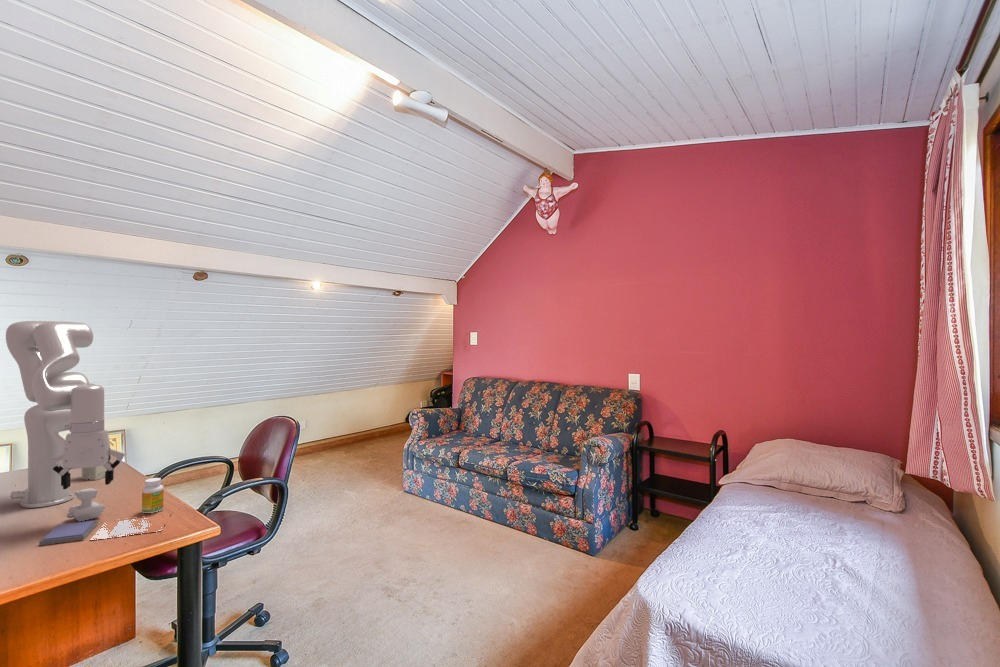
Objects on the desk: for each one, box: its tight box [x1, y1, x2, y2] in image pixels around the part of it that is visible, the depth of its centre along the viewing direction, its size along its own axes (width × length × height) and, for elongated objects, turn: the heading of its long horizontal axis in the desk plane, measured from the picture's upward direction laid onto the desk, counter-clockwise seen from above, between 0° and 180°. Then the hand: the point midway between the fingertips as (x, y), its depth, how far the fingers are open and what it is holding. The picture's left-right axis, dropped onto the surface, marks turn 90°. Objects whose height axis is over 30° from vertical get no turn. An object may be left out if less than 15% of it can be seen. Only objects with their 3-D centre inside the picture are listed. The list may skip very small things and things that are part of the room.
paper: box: [89, 518, 162, 541], centre depth 136 cm, size 16×14×1 cm
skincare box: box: [81, 466, 107, 481], centre depth 178 cm, size 6×4×12 cm
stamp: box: [66, 487, 106, 522], centre depth 141 cm, size 9×7×8 cm
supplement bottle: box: [141, 477, 165, 514], centre depth 148 cm, size 5×5×10 cm
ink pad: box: [39, 519, 99, 547], centre depth 130 cm, size 9×11×2 cm
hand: (87, 485), depth 140 cm, fingers open, 9 cm apart
